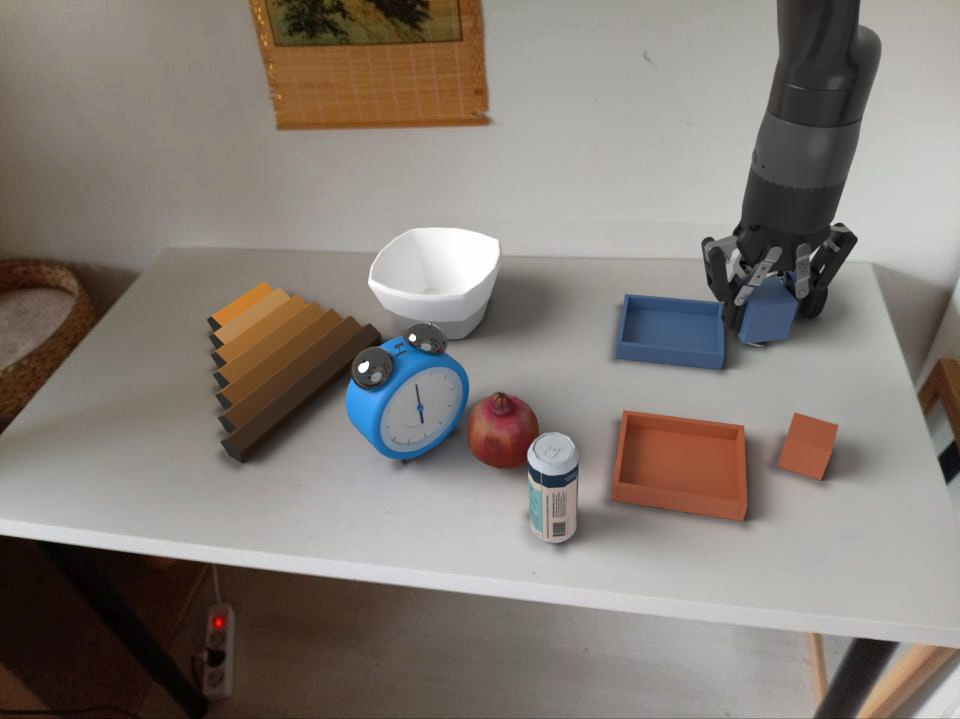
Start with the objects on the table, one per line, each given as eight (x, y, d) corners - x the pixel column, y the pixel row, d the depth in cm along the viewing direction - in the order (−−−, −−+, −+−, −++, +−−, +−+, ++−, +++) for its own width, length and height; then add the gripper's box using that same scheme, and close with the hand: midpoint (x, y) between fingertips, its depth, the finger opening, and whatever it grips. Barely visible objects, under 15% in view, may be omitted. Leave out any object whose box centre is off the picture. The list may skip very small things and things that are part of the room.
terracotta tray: (740, 440, 77) (744, 425, 75) (743, 521, 69) (747, 506, 67) (621, 424, 80) (623, 409, 78) (611, 500, 72) (612, 485, 70)
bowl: (413, 272, 108) (404, 220, 102) (519, 288, 103) (517, 234, 96) (360, 341, 96) (347, 285, 89) (479, 363, 90) (473, 306, 84)
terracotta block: (827, 452, 75) (838, 424, 72) (820, 480, 72) (831, 453, 69) (785, 439, 77) (794, 412, 74) (777, 466, 74) (786, 439, 71)
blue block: (767, 312, 69) (777, 276, 67) (787, 339, 66) (798, 302, 63) (725, 317, 69) (733, 281, 66) (743, 344, 66) (752, 307, 63)
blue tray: (720, 316, 94) (723, 302, 92) (721, 370, 86) (724, 355, 84) (623, 307, 97) (625, 293, 95) (615, 358, 89) (616, 343, 87)
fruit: (544, 434, 80) (543, 371, 73) (535, 489, 74) (533, 425, 67) (476, 429, 81) (469, 366, 75) (463, 482, 75) (454, 418, 69)
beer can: (585, 519, 70) (589, 440, 63) (562, 553, 67) (563, 475, 60) (544, 500, 73) (543, 421, 65) (521, 532, 70) (517, 454, 62)
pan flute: (245, 465, 79) (383, 346, 94) (236, 445, 77) (379, 326, 92) (121, 391, 91) (262, 296, 106) (110, 372, 89) (256, 277, 104)
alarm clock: (384, 482, 76) (358, 383, 66) (355, 451, 80) (328, 354, 70) (475, 424, 82) (464, 326, 72) (445, 398, 86) (431, 301, 76)
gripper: (733, 194, 53) (699, 358, 64) (909, 174, 54) (845, 341, 65) (699, 153, 59) (673, 311, 70) (858, 136, 59) (807, 295, 71)
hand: (756, 325), depth 67 cm, fingers closed on blue block, 4 cm apart
